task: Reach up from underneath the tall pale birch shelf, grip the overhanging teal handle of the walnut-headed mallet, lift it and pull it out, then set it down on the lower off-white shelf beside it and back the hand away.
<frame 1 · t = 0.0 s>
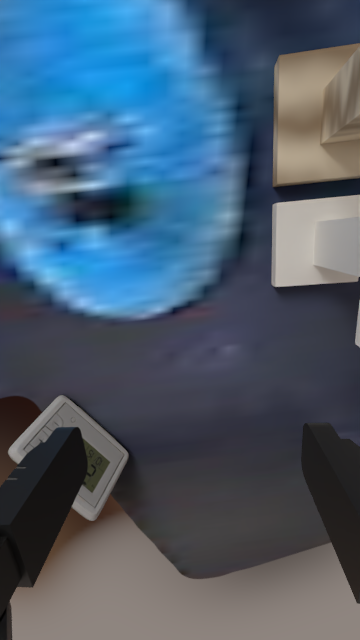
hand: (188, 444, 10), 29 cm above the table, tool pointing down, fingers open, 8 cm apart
digital clock: (90, 429, 47), on the table
tall shelf: (318, 124, 31), on the table
low shelf: (312, 242, 35), on the table
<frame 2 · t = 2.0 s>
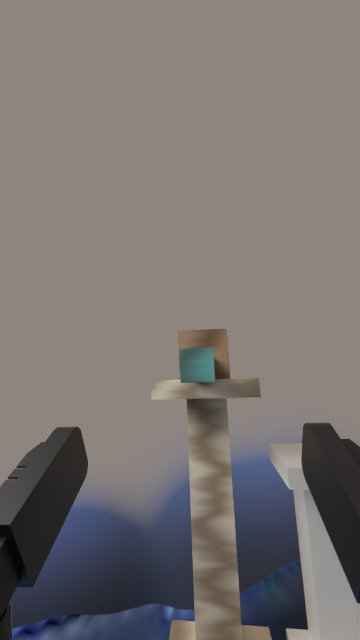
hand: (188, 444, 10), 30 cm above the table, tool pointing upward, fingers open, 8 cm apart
mallet: (203, 380, 29), point 32 cm above the table, touching tall shelf
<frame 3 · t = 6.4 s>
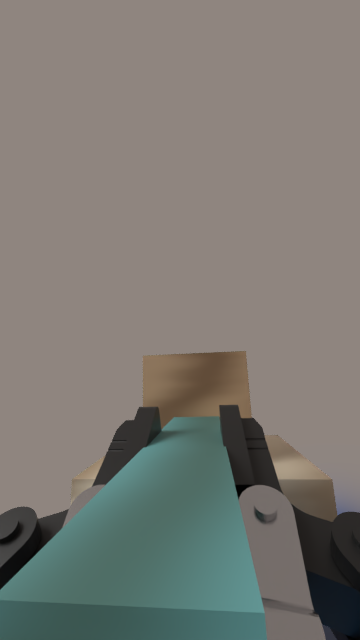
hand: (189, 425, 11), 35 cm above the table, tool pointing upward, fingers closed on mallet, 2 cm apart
mallet: (195, 487, 12), point 32 cm above the table, touching gripper, tall shelf
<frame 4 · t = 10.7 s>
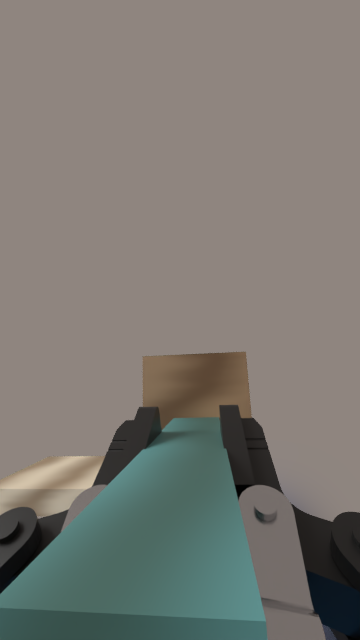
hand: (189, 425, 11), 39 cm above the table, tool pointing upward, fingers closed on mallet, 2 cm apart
mallet: (195, 488, 12), point 36 cm above the table, touching gripper
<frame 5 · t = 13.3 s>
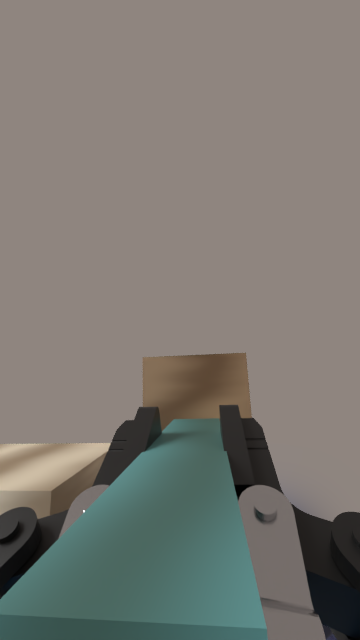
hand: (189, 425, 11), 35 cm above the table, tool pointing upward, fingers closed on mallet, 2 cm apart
mallet: (195, 490, 11), point 32 cm above the table, touching gripper
when the fingers open (27 cm above the table, at t = 15.3 s): mallet drops 1 cm, resting on low shelf.
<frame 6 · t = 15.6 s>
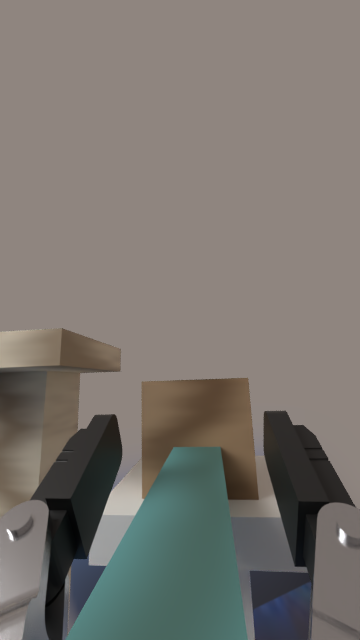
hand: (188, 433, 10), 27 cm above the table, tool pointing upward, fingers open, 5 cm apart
mallet: (196, 530, 11), point 23 cm above the table, touching low shelf
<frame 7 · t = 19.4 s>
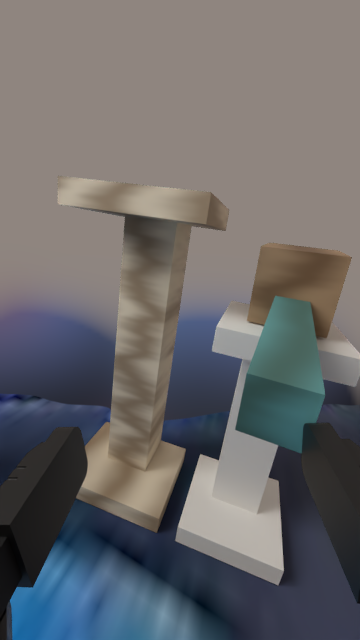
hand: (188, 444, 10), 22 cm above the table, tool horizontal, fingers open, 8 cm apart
tall shelf: (126, 474, 34), on the table
low shelf: (230, 514, 31), on the table
mallet: (282, 343, 19), point 23 cm above the table, touching gripper
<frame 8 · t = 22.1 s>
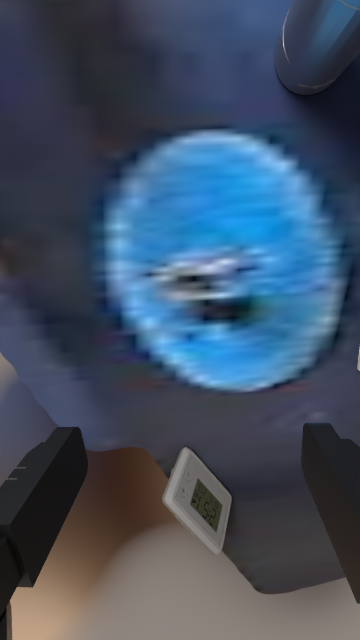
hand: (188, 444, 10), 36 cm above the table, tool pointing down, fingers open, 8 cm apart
digital clock: (200, 473, 56), on the table
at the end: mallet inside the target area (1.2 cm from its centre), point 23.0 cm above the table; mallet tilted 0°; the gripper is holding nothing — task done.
